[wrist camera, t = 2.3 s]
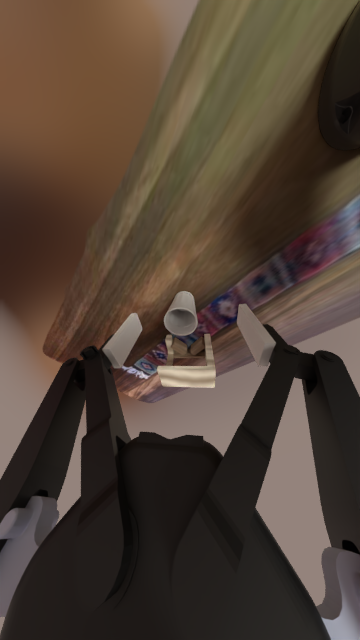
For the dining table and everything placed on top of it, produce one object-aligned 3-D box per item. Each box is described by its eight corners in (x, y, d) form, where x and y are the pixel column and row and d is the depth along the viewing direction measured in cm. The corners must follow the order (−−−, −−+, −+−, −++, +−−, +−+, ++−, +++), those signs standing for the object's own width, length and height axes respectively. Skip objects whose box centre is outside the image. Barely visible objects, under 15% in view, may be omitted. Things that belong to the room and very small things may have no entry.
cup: (189, 315, 42) (187, 340, 32) (167, 305, 41) (158, 327, 31) (201, 296, 38) (204, 317, 28) (178, 283, 37) (172, 301, 27)
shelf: (166, 334, 48) (156, 369, 36) (209, 333, 46) (215, 370, 33) (170, 350, 53) (162, 386, 40) (209, 350, 50) (214, 387, 38)
